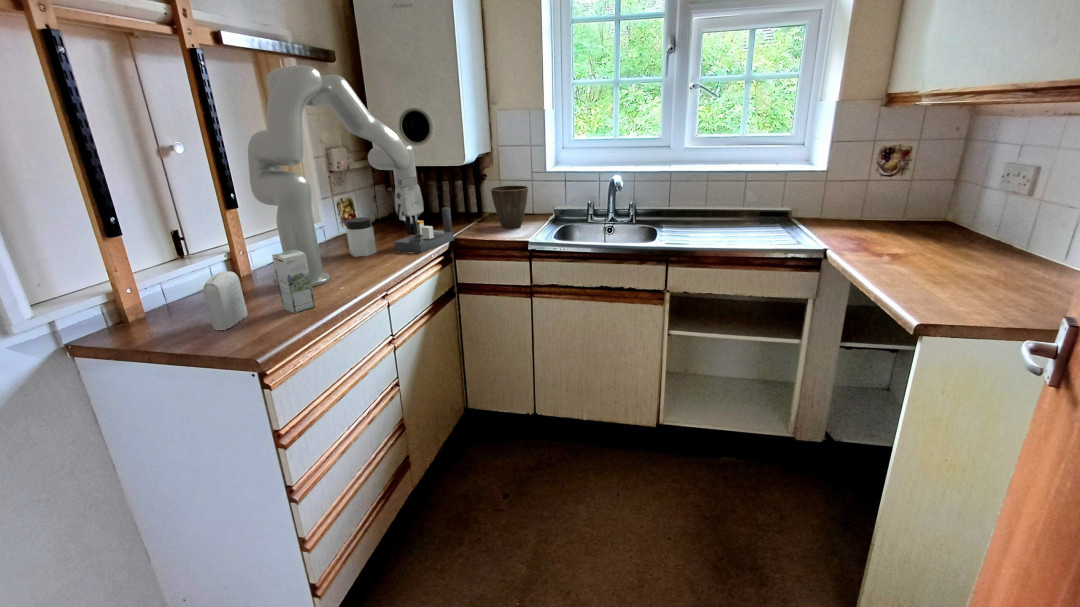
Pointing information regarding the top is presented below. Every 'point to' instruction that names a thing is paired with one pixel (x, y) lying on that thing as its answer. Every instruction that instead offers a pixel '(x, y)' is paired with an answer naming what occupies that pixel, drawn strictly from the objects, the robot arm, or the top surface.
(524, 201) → the plant pot
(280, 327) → the top surface
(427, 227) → the paddle
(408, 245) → the breaker panel
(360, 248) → the jar
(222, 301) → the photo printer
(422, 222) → the paddle on
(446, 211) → the post
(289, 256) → the syrup box
